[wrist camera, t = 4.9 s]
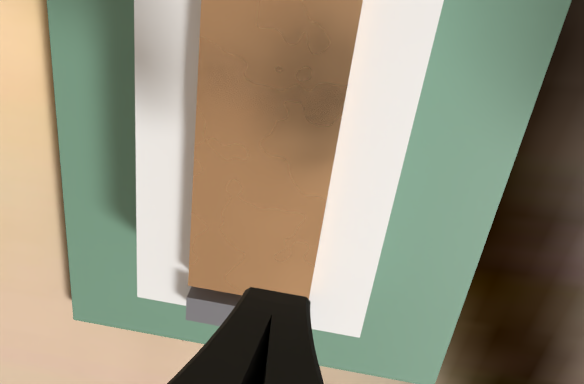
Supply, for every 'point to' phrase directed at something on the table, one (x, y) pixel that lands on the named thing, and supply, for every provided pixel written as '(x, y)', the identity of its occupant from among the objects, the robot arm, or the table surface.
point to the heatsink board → (422, 205)
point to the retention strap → (266, 138)
